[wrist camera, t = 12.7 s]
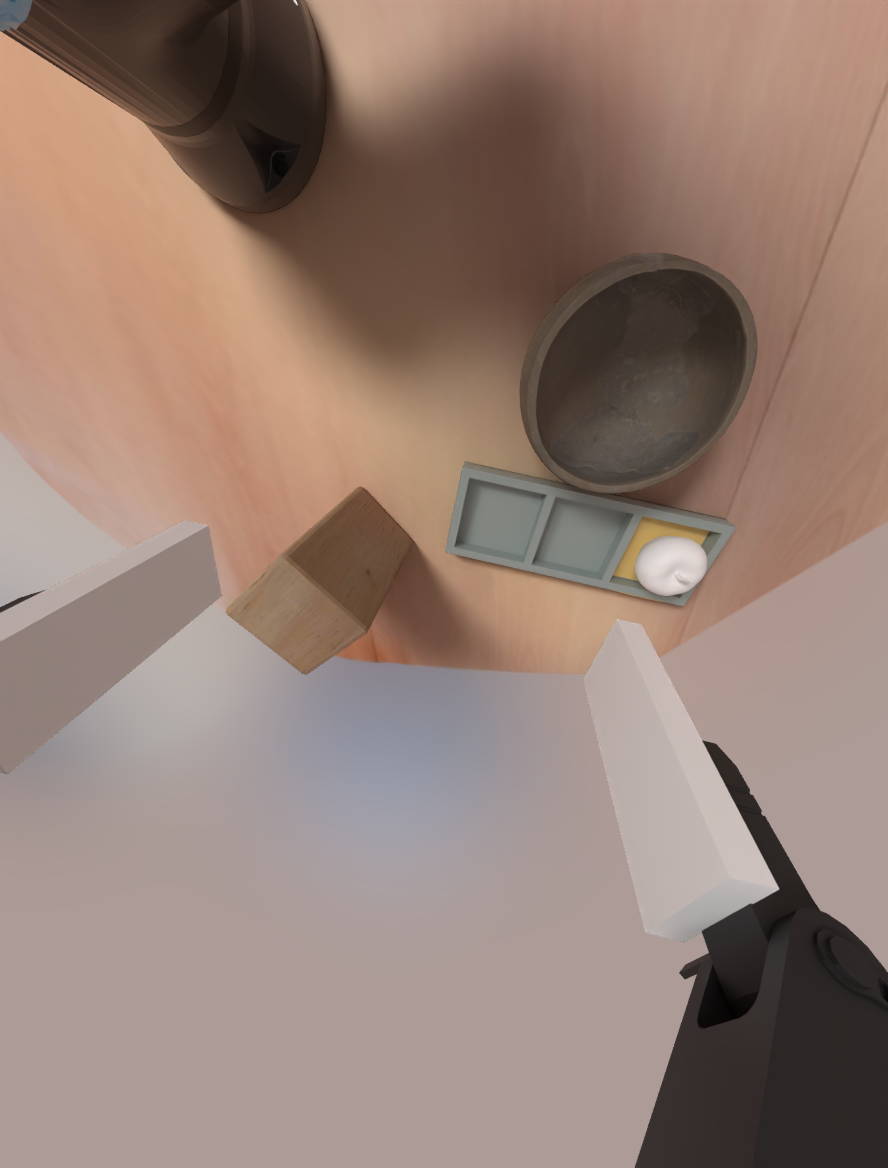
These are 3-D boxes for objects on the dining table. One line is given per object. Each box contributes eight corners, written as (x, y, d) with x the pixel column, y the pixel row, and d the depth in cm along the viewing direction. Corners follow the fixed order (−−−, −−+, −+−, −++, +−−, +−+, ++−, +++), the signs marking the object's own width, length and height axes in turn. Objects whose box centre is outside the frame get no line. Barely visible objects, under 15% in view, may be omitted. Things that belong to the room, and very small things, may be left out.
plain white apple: (701, 555, 44) (736, 590, 37) (644, 585, 47) (667, 623, 41) (673, 512, 42) (705, 541, 35) (615, 547, 45) (635, 580, 38)
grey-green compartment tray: (464, 461, 43) (462, 467, 41) (724, 518, 42) (736, 527, 40) (447, 545, 49) (444, 553, 47) (674, 596, 48) (682, 607, 46)
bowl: (651, 484, 42) (689, 516, 33) (499, 452, 42) (497, 475, 34) (743, 295, 32) (827, 271, 24) (546, 257, 33) (560, 221, 24)
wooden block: (414, 540, 49) (368, 634, 33) (367, 578, 54) (304, 678, 37) (361, 483, 46) (280, 554, 29) (315, 528, 51) (221, 612, 34)
